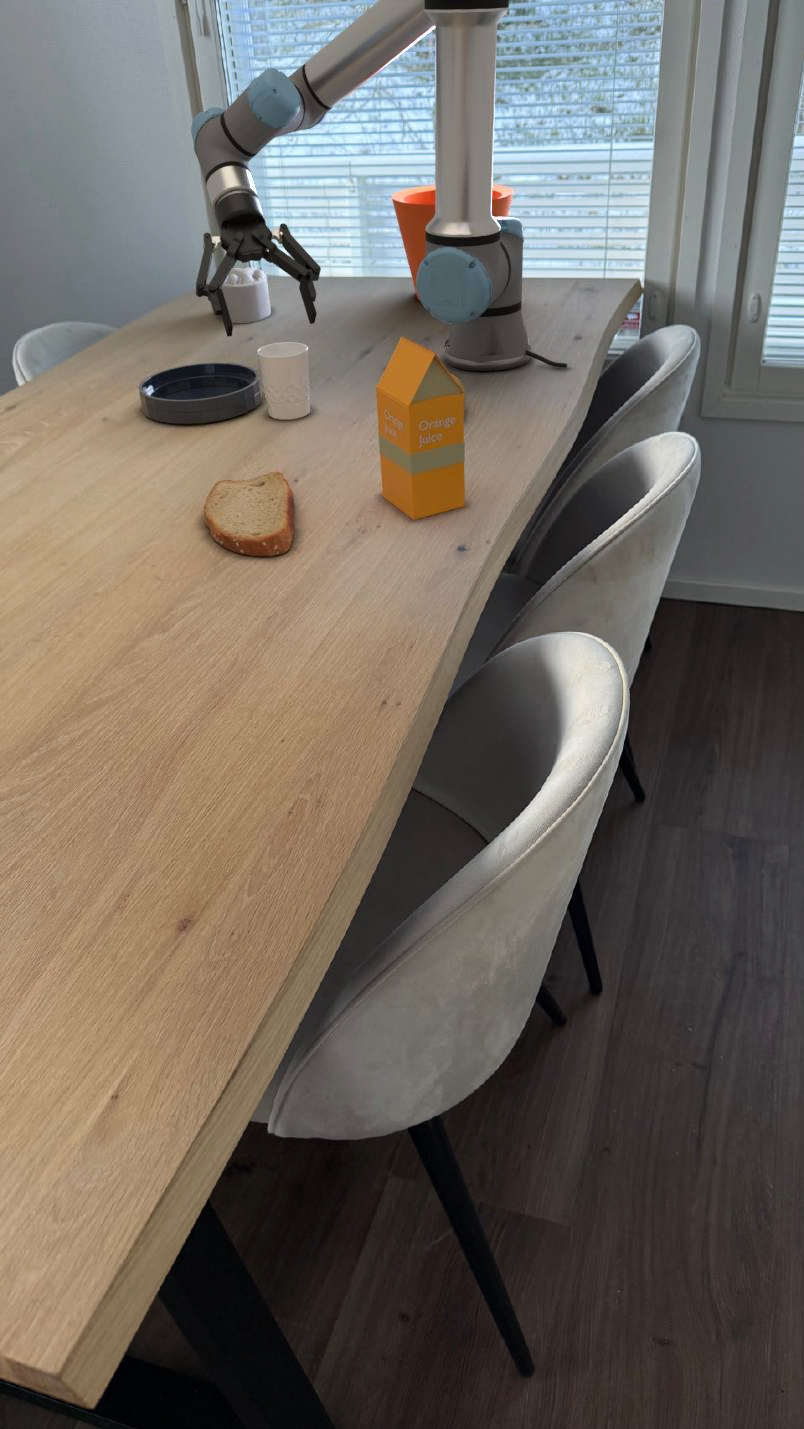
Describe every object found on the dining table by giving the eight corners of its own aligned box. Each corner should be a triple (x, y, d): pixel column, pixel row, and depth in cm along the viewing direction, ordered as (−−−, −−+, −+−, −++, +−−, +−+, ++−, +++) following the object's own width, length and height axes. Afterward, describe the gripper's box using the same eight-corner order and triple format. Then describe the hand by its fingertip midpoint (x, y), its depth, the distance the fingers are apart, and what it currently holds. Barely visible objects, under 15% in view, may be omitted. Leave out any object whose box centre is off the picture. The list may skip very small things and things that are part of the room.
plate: (286, 400, 165) (283, 376, 163) (191, 435, 154) (186, 409, 151) (213, 378, 176) (210, 355, 174) (120, 409, 165) (114, 385, 163)
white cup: (265, 406, 163) (257, 344, 157) (314, 403, 163) (307, 340, 157) (264, 423, 156) (256, 358, 151) (314, 419, 157) (308, 354, 151)
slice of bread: (271, 563, 118) (267, 534, 115) (159, 533, 126) (153, 505, 124) (356, 505, 130) (354, 478, 127) (249, 481, 138) (245, 456, 136)
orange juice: (412, 520, 125) (405, 358, 114) (381, 496, 132) (371, 341, 120) (466, 505, 128) (464, 346, 116) (433, 483, 134) (428, 329, 123)
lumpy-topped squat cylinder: (271, 305, 216) (266, 262, 211) (269, 321, 206) (263, 276, 200) (223, 308, 216) (217, 266, 211) (219, 325, 205) (212, 280, 200)
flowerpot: (516, 307, 205) (518, 201, 193) (395, 313, 206) (390, 207, 194) (507, 279, 225) (509, 180, 213) (397, 284, 226) (392, 187, 214)
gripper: (307, 213, 167) (343, 327, 164) (159, 231, 160) (193, 350, 157) (313, 181, 159) (350, 300, 157) (158, 199, 153) (194, 323, 150)
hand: (272, 325), depth 157 cm, fingers open, 13 cm apart
